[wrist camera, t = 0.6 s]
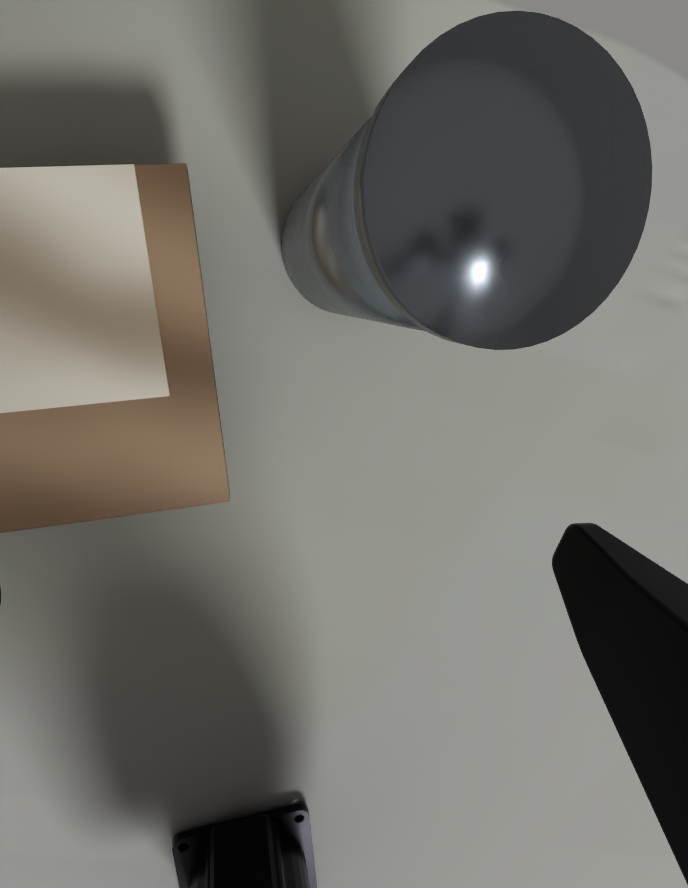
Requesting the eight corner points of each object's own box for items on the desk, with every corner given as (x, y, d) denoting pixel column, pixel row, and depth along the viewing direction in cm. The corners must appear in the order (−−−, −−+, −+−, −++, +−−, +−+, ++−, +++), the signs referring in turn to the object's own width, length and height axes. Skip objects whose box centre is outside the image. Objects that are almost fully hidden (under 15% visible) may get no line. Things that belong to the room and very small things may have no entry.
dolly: (228, 476, 23) (230, 502, 20) (-75, 516, 21) (-119, 550, 18) (189, 180, 20) (185, 162, 17) (-170, 192, 18) (-241, 174, 15)
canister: (413, 311, 23) (639, 337, 11) (285, 321, 22) (373, 362, 10) (408, 171, 21) (664, 14, 9) (271, 175, 20) (354, 6, 8)
